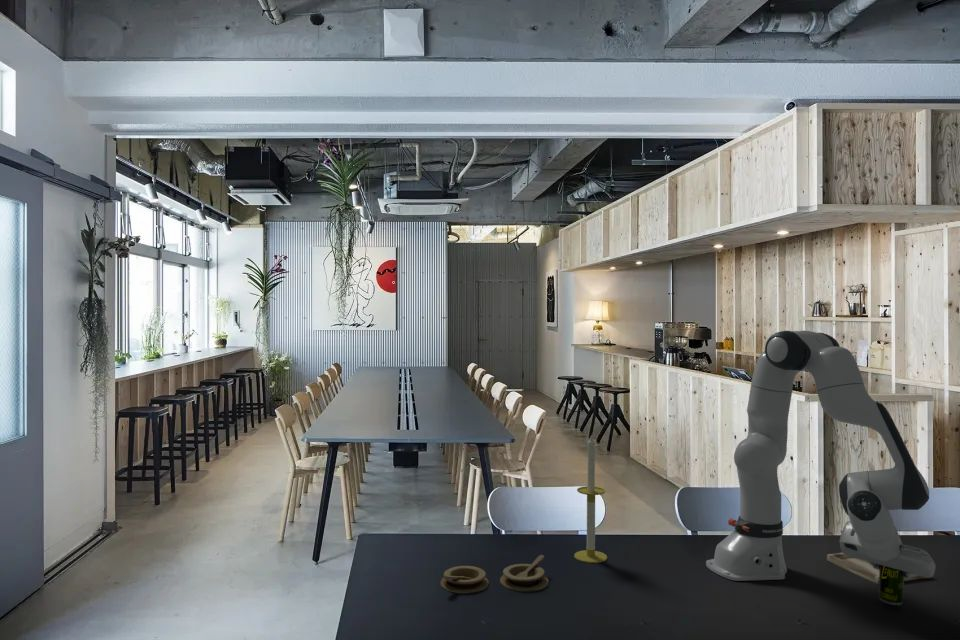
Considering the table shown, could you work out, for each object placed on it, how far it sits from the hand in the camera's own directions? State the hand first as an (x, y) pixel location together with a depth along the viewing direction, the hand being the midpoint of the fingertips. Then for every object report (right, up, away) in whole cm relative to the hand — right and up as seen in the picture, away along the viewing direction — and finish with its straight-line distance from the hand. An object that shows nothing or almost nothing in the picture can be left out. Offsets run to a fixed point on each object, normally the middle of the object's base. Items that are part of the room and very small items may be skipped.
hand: (892, 570), depth 170 cm
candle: (-71, -8, +33) cm, 79 cm away
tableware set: (-101, -9, +13) cm, 102 cm away
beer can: (-1, -8, 0) cm, 8 cm away
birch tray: (+10, -9, +24) cm, 28 cm away
